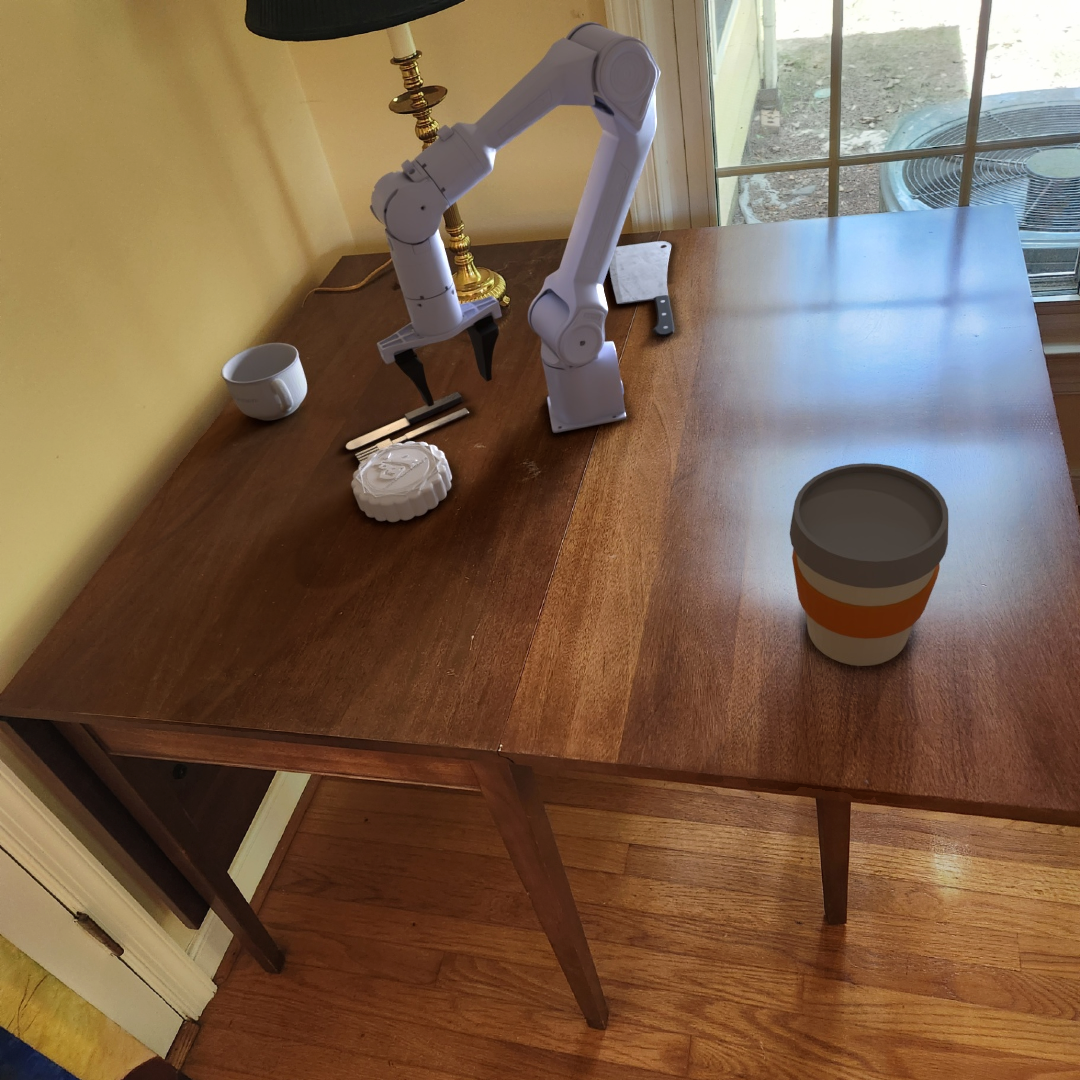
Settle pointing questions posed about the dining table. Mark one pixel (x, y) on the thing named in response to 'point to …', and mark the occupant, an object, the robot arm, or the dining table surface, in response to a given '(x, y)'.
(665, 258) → the cleaver
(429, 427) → the fork
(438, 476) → the mooncake
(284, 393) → the teacup
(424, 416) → the knife
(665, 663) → the dining table surface
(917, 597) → the reusable coffee cup
